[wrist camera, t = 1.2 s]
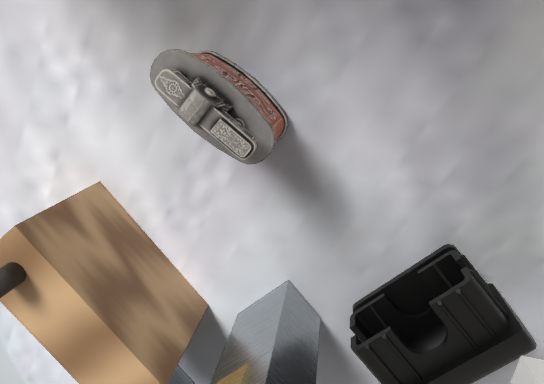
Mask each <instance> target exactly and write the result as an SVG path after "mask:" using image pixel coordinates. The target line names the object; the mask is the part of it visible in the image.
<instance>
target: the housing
mask: <svg viewBox="0 0 544 384" xmlns="http://www.w3.org/2000/svg"><path fill="white" fill-rule="evenodd" d="M319 329H320V317H319V316H318V314H317V313H316V312H315V311H314V310H313V308H312V307H311V306H310V305H309V304H308V302H307V301H306V300H305V299H304V298H303V296H302V295H301V294H300V293H299V292H298V290H297V289H296V288H295V287H294V286H293V284H292V283H291V282H290V281H289V280H288V281H286V282H285V283H283V284H282V285H280V286H279V287H277V288H276V289H274V290H273V291H271V292H270V293H268V294H267V295H266V296H264V297H263V298H261V299H260V300H258V301H257V302H255V303H254V304H252V305H251V306H249V307H248V308H246V309H245V310H243V311H242V312H240V313H239V314H238V315H237V318H236V320H235V323H234V326H233V328H232V331H231V333H230V336H229V338H228V341H227V343H226V346H225V348H224V351H223V354H222V356H221V359H220V361H219V364H218V366H217V369H216V371H215V374H214V376H213V379H212V382H211V384H316V371H317V357H318V343H319ZM167 384H195V383H194V382H193V381H192V380H191V379H190V378H189V377H188V376H187V375H186V374H185V372H184V371H183V370H182V369H181V368H180V367H179V366H178V365H177V366H176V368H175V370H174V372H173V374H172V376H171V378H170V380H169V381H168V383H167Z"/></svg>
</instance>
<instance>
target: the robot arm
mask: <svg viewBox="0 0 544 384" xmlns="http://www.w3.org/2000/svg"><path fill="white" fill-rule="evenodd" d="M510 384H544V360H541V359H537V358H532V357H527V356H522V355H521V356H520V359H519V361H518V364H517V366H516V369H515V372H514V374H513V377H512V379H511V382H510Z"/></svg>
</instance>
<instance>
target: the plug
mask: <svg viewBox="0 0 544 384" xmlns="http://www.w3.org/2000/svg"><path fill="white" fill-rule="evenodd" d="M0 302H1V303H2V304H3V305H4V306H5V307H6V308H7V309H8V310H9V311H10V312H11V313H12V314H13V315H14V316H15V317H16V318H17V319H18V320H19V321H20V322H21V323H22V325H23V326H24V327H25V328H26V329H27V330H28V331H29V332H30V333H31V334H32V335H33V336H34V337H35V338H36V339H37V340H38V341H39V342H40V343H41V344H42V345H43V346H44V347H45V349H46V350H47V351H48V352H49V353H50V354H51V355H52V356H53V357H54V358H55V359H56V360H57V361H58V362H59V363H60V364H61V365H62V366H63V367H64V368H65V369H66V370H67V371H68V373H69V374H70V375H71V376H72V377H73V378H74V379H75V380H76V381H77V382H78V383H79V384H167V383H168V381H169V380H170V378H171V376H172V374H173V372H174V370H175V368H176V366H177V364H178V362H179V360H180V359H181V357H182V355H183V353H184V351H185V349H186V347H187V345H188V343H189V341H190V340H191V338H192V336H193V334H194V332H195V330H196V328H197V326H198V324H199V322H200V320H201V319H202V317H203V315H204V313H205V311H206V309H207V307H208V304H207V303H206V302H205V301H204V299H203V298H202V297H201V296H200V295H199V294H198V293H197V291H196V290H195V289H194V288H193V287H192V286H191V285H190V283H189V282H188V281H187V280H186V279H185V278H184V277H183V275H182V274H181V273H180V272H179V271H178V270H177V269H176V267H175V266H174V265H173V264H172V263H171V262H170V261H169V259H168V258H167V257H166V256H165V255H164V254H163V253H162V252H161V250H160V249H159V248H158V247H157V246H156V245H155V244H154V242H153V241H152V240H151V239H150V238H149V237H148V236H147V234H146V233H145V232H144V231H143V230H142V229H141V228H140V226H139V225H138V224H137V223H136V222H135V221H134V220H133V218H132V217H131V216H130V215H129V214H128V213H127V212H126V210H125V209H124V208H123V207H122V206H121V205H120V204H119V202H118V201H117V200H116V199H115V198H114V197H113V196H112V195H111V193H110V192H109V191H108V190H107V189H106V188H105V187H104V185H103V184H102V183H101V182H98V183H96V184H94V185H92V186H90V187H88V188H86V189H84V190H82V191H80V192H79V193H77V194H75V195H73V196H71V197H69V198H67V199H65V200H63V201H61V202H59V203H57V204H56V205H54V206H52V207H50V208H48V209H46V210H44V211H42V212H40V213H38V214H36V215H34V216H33V217H31V218H29V219H27V220H25V221H23V222H21V223H19V224H17V225H15V226H14V227H13V228H12V229H11V230H10V231H8V232H7V233H6V234H5V235H4V236H3V237H2V238H1V239H0Z"/></svg>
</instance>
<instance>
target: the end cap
mask: <svg viewBox="0 0 544 384" xmlns="http://www.w3.org/2000/svg"><path fill="white" fill-rule="evenodd" d="M350 329H351V330H352V331H353V332H354V334H355V336H353V337H352V338H351V349H352V350H353V351H354V353H355V354H356V355H357V356H358V357H359V358H360V360H361V361H362V362H363V363H364V364H365V365H366V367H367V368H368V369H369V370H370V371H371V372H372V374H373V375H374V376H375V377H376V378H377V379H378V381H379V382H380V383H381V384H471V383H473V382H475V381H477V380H479V379H481V378H483V377H484V376H486V375H488V374H490V373H492V372H494V371H495V370H497V369H499V368H501V367H503V366H505V365H507V364H508V363H510V362H512V361H514V360H516V359H518V358H520V356H521V355H522V356H523V355H525V354H527V353H529V352H531V351H532V350H534V349H535V348H536V343H535V341H534V339H533V338H532V336H531V335H530V333H529V332H528V331H527V329H526V328H525V326H524V325H523V324H522V322H521V321H520V319H519V318H518V317H517V315H516V314H515V313H514V311H513V310H512V309H511V307H510V306H509V305H508V303H507V302H506V301H505V299H504V298H503V297H502V295H501V294H500V293H499V291H498V290H497V289H496V288H495V286H494V285H493V284H492V283H490V284H486V282H485V281H484V280H483V279H482V277H481V276H480V275H479V273H478V272H477V271H476V270H475V268H474V267H473V266H472V265H471V263H470V262H469V261H468V260H467V258H466V257H465V256H464V255H461V254H460V252H459V251H458V250H457V248H456V247H455V246H453V245H450V244H447V245H444V246H443V247H441V248H439V249H438V250H436V251H435V252H433V253H432V254H430V255H429V256H427V257H426V258H424V259H422V260H421V261H419V262H418V263H416V264H415V265H413V266H412V267H410V268H409V269H407V270H405V271H404V272H402V273H401V274H399V275H398V276H396V277H395V278H393V279H392V280H390V281H388V282H387V283H385V284H384V285H382V286H381V287H379V288H378V289H376V290H375V291H373V292H371V293H370V294H368V295H367V296H365V297H364V298H362V299H361V300H359V301H358V302H356V303H355V304H354V305H353V314H352V315H351V317H350ZM359 339H360V340H359Z"/></svg>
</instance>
